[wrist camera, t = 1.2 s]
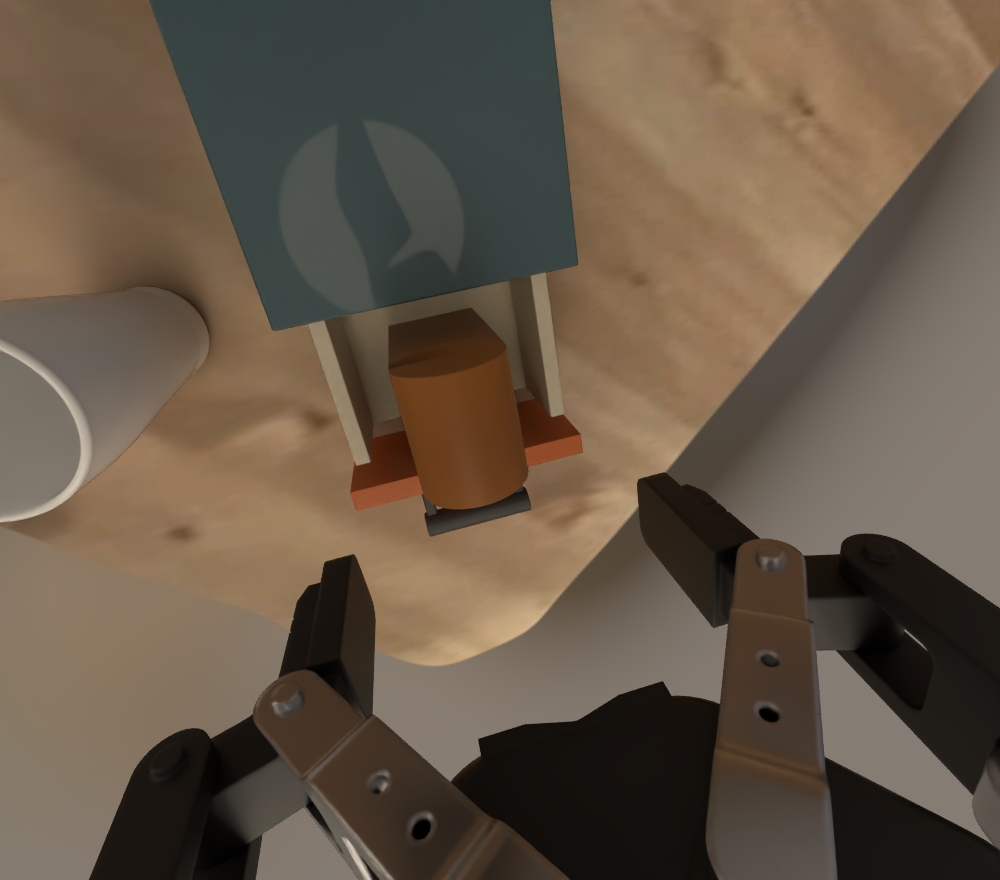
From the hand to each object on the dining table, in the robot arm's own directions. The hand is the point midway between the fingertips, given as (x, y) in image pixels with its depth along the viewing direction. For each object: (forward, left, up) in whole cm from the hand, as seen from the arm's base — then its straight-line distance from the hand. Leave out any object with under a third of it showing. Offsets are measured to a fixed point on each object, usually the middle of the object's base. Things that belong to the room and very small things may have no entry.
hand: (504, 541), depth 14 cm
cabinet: (-10, -7, -21) cm, 24 cm away
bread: (0, 0, -19) cm, 19 cm away
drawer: (+1, 0, -20) cm, 20 cm away
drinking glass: (+5, -15, -21) cm, 26 cm away
